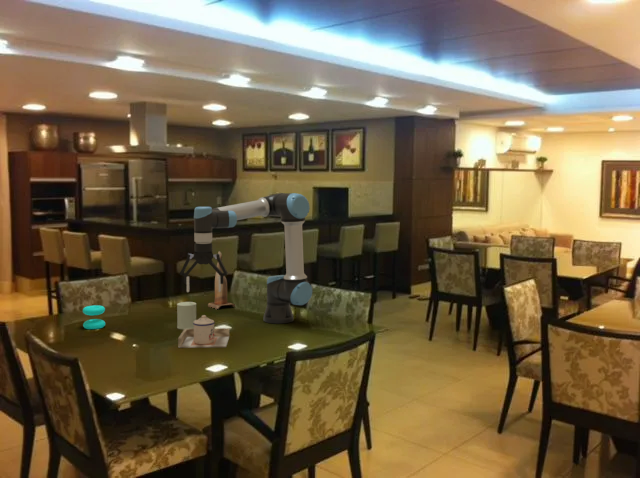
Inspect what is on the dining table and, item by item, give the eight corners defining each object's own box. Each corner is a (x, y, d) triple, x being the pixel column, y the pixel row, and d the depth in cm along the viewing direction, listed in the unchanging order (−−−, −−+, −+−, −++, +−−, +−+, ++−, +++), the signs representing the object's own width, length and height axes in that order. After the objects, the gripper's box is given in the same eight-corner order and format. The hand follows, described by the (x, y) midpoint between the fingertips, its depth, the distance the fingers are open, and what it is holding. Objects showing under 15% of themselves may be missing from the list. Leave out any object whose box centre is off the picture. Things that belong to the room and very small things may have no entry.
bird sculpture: (224, 304, 347) (222, 249, 345) (235, 307, 339) (234, 250, 336) (207, 307, 340) (205, 251, 337) (218, 310, 331) (216, 252, 329)
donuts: (78, 306, 289) (98, 303, 296) (79, 327, 290) (99, 324, 297) (88, 310, 282) (108, 306, 289) (89, 331, 283) (109, 327, 290)
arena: (229, 337, 274) (229, 328, 273) (226, 347, 257) (225, 337, 256) (184, 337, 272) (184, 328, 272) (178, 347, 256) (178, 338, 255)
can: (192, 330, 286) (191, 305, 285) (173, 328, 288) (173, 304, 287) (199, 325, 295) (199, 301, 294) (182, 324, 297) (181, 300, 296)
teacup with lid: (213, 344, 258) (213, 317, 257) (191, 344, 257) (191, 317, 256) (216, 337, 270) (216, 311, 269) (196, 337, 269) (195, 312, 268)
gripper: (233, 241, 264) (233, 289, 266) (175, 241, 262) (176, 290, 264) (232, 243, 257) (232, 292, 259) (172, 243, 255) (173, 293, 257)
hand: (204, 291), depth 262 cm, fingers open, 13 cm apart
